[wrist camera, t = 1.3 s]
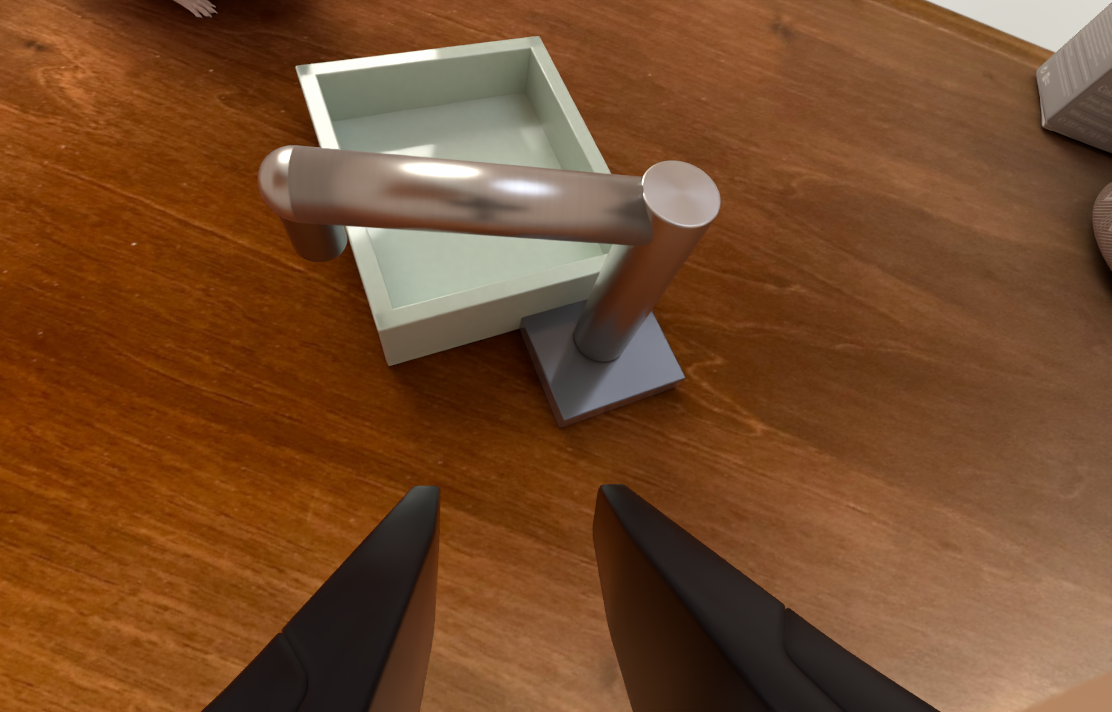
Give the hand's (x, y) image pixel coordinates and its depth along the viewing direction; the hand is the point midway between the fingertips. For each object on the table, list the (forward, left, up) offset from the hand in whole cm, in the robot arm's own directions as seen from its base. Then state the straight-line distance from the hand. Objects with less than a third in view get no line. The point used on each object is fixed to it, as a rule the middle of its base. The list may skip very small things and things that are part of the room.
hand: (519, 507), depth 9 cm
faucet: (+9, -3, -12) cm, 15 cm away
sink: (+13, -5, -14) cm, 20 cm away
